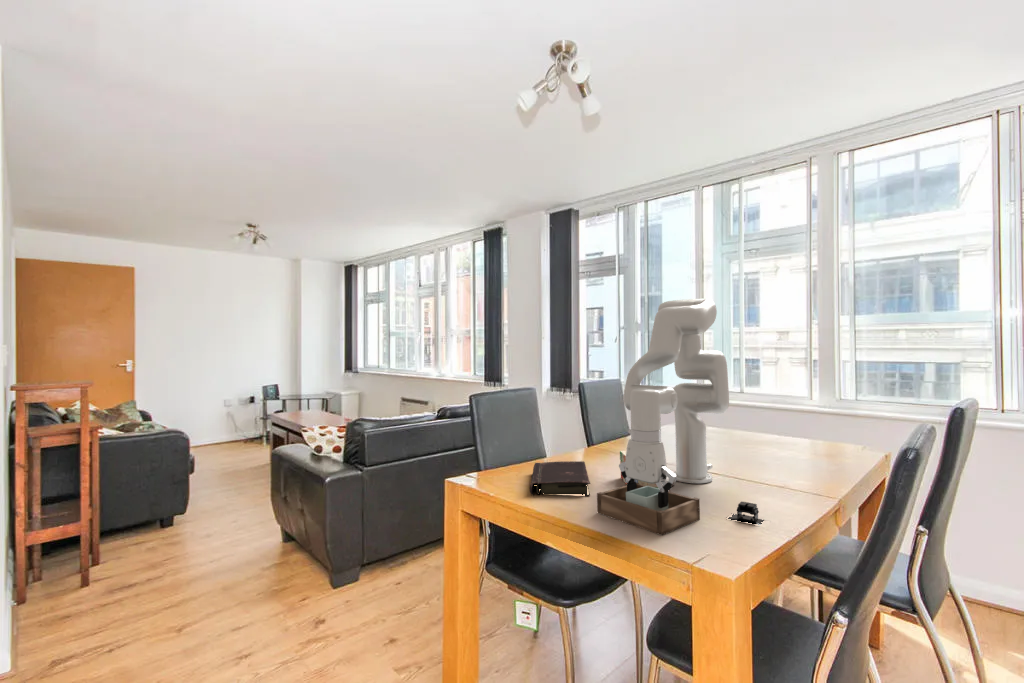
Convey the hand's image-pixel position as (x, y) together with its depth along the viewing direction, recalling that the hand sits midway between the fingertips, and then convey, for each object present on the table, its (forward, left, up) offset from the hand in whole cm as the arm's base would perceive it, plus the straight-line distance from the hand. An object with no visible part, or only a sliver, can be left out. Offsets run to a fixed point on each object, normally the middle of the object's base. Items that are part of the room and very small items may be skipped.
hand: (647, 502), depth 124 cm
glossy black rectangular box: (-17, +18, -4) cm, 25 cm away
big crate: (0, 0, -4) cm, 4 cm away
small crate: (0, 0, -3) cm, 3 cm away
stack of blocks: (-20, -18, -4) cm, 27 cm away
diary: (-3, -36, -4) cm, 36 cm away
